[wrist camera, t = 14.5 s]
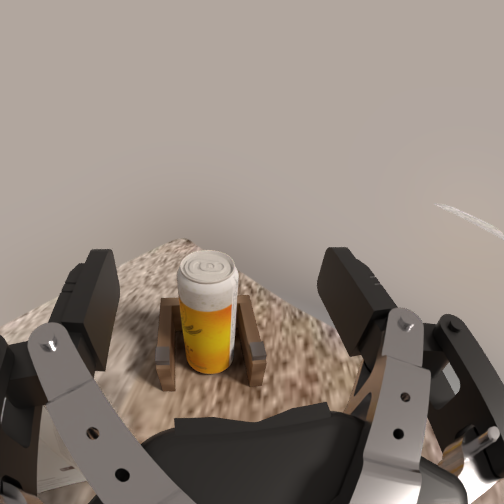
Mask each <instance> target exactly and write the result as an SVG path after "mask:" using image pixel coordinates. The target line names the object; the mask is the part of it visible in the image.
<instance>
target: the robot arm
mask: <svg viewBox="0 0 504 504" xmlns="http://www.w3.org/2000/svg"><path fill="white" fill-rule="evenodd" d="M317 289H318V293H319V296H320V297H321V299H322V301H323V303H324V305H325V307H326V309H327V311H328V313H329V315H330V317H331V319H332V321H333V323H334V325H335V328H336V330H337V332H338V334H339V336H340V338H341V340H342V342H343V344H344V346H345V348H346V350H347V352H348V354H349V356H350V357H352V356H357V355H362V357H363V360H362V361H361V363H360V366H359V369H358V373H357V376H356V380H355V383H354V386H353V389H352V392H351V395H350V399H349V401H348V404H347V406H346V408H345V409H344V411H343V413H342V412H335V411H330V410H329V407H328V404H327V402H323V403H318V404H313V405H308V406H303V407H297V408H292V409H290V410H287V411H285V412H282V413H280V414H277V415H275V416H272V417H270V418H267V419H265V420H262V421H259V422H245V421H237V420H229V419H223V418H216V417H205V418H174V422H175V428H171V429H168V430H165V431H162V432H159V433H157V434H155V435H153V436H152V437H150V438H149V439H147V440H146V441H144V442H143V443H142V444H141V445H140V444H139V442H138V441H137V440H136V439H135V437H134V436H133V435H132V433H131V432H130V431H129V430H128V428H127V427H126V426H125V424H124V423H123V421H122V420H121V419H120V417H119V416H118V415H117V413H116V412H115V410H114V409H113V407H112V406H111V405H110V403H109V402H108V400H107V399H106V397H105V396H104V394H103V393H102V391H101V389H100V388H99V386H98V385H97V383H96V382H95V380H94V373H95V371H105V370H106V363H107V358H108V352H109V346H110V341H111V336H112V331H113V326H114V321H115V316H116V312H117V307H118V303H119V298H120V285H119V280H118V275H117V270H116V266H115V260H114V255H113V252H112V250H111V249H94V250H91V251H90V253H89V255H88V257H87V260H86V262H85V263H81V264H80V263H79V264H78V265H77V266H76V267H75V268H74V269H73V270H72V271H71V272H70V273H69V275H68V278H67V280H66V282H65V284H64V286H63V289H62V293H60V295H59V297H58V300H57V302H56V304H55V307H54V309H53V312H52V314H51V317H50V319H49V322H48V323H45V324H43V325H41V326H39V327H37V328H36V329H35V330H34V331H33V332H32V333H31V335H30V337H29V340H28V341H26V342H21V343H16V344H11V345H8V344H7V342H6V341H5V339H4V338H3V337H2V336H1V335H0V504H43V503H42V501H41V500H40V499H39V498H38V497H37V460H38V444H39V433H40V423H41V415H42V408H43V405H46V407H47V410H48V412H49V415H50V417H51V419H52V421H53V423H54V425H55V427H56V429H57V431H58V433H59V435H60V437H61V438H62V440H63V442H64V444H65V446H66V447H67V449H68V451H69V453H70V454H71V456H72V458H73V459H74V461H75V463H76V464H77V466H78V467H79V469H80V471H81V472H82V474H83V475H84V477H85V478H86V480H87V481H88V483H89V484H90V486H91V487H92V488H93V490H94V491H95V493H96V495H95V497H94V498H93V499H92V500H91V501H90V502H89V503H88V504H469V503H470V502H472V501H473V500H474V499H476V498H477V497H478V496H480V495H481V494H482V493H483V492H485V491H486V490H487V489H488V488H490V487H491V486H492V485H494V484H496V483H498V482H499V481H501V480H503V479H504V385H503V383H502V381H501V380H500V378H499V376H498V374H497V373H496V371H495V369H494V368H493V366H492V364H491V363H490V361H489V360H488V358H487V356H486V355H485V354H484V352H483V350H482V348H481V347H480V345H479V344H478V342H477V341H476V339H475V338H474V336H473V335H472V333H471V332H470V331H469V329H468V328H467V326H466V325H465V323H464V322H463V321H462V320H460V319H459V318H457V317H456V316H454V315H451V314H445V315H443V316H442V317H441V318H440V320H439V321H438V323H437V324H428V323H422V320H421V319H420V318H419V316H417V315H416V314H415V313H414V312H412V311H410V310H408V309H405V308H398V307H397V306H396V304H395V303H394V302H393V300H392V299H391V297H390V296H389V295H388V293H387V292H386V290H385V289H384V288H383V286H382V285H381V284H380V282H379V281H378V279H377V278H376V277H375V276H374V274H373V273H372V271H371V270H370V269H369V267H367V266H366V265H365V264H364V263H362V262H361V261H359V260H358V259H356V258H355V257H354V255H353V254H352V253H351V251H350V250H349V249H348V248H346V247H329V248H328V249H327V250H326V252H325V255H324V259H323V262H322V266H321V270H320V273H319V276H318V280H317ZM449 362H450V364H451V366H452V368H453V369H454V371H455V373H456V375H457V376H458V378H459V380H460V390H459V392H458V393H457V394H456V395H455V394H454V392H453V390H452V388H451V386H450V384H449V383H448V380H447V379H446V377H445V375H444V373H443V371H442V370H443V369H444V368H445V366H446V365H447V364H448V363H449ZM5 398H6V400H5V405H4V410H3V416H2V422H1V414H2V409H3V404H4V399H5ZM427 417H428V420H429V422H430V424H431V426H432V429H433V431H434V434H435V436H436V438H437V441H438V443H439V446H440V448H441V451H442V453H443V456H442V460H441V461H440V462H439V463H438V465H436V464H434V463H432V462H431V461H429V460H427V459H425V458H424V457H422V456H421V452H422V447H423V441H424V435H425V429H426V422H427Z"/></svg>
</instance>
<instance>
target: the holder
mask: <svg viewBox="0 0 504 504" xmlns="http://www.w3.org/2000/svg"><path fill="white" fill-rule="evenodd" d="M235 328H238V331H239V336H240V341H241V347H242V352H243V357H244V362H245V367H246V372H247V376H248V381H249V386H250V387H253V386H262V382H263V377H264V373H265V368H266V351H265V348H264V344H263V341H262V342H261V339H260V336H259V332H258V328H257V324H256V320H255V316H254V312H253V308H252V304H251V300H250V296H249V295H237V307H236V323H235ZM175 331H183V329H182V321H181V313H180V304H179V298H161V303H160V315H159V328H158V342H157V347H156V353H155V362H156V370H157V373H158V377H159V380H160V383H161V386H162V389H163V391H175Z"/></svg>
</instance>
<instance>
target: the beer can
mask: <svg viewBox="0 0 504 504" xmlns="http://www.w3.org/2000/svg"><path fill="white" fill-rule="evenodd" d="M177 284H178V294H179V304H180V313H181V321H182V329H183V337H184V344H185V351H186V358H187V361H188V363H189V364H190V366H191V367H192V368H193V369H195V370H196V371H198V372H201V373H205V374H215V373H219V372H222V371H224V370H225V369H227V368H228V367H229V366H230V365H231V363H232V361H233V357H234V340H235V323H236V307H237V291H238V271H237V269H236V267H235V263H234V261H233V260H232V258H231V257H229V256H228V255H226V254H224V253H222V252H218V251H214V250H201V251H196V252H193V253H191V254H189V255H187V256H186V257H184V258H183V260H182V261H181V264H180V267H179V269H178V272H177Z"/></svg>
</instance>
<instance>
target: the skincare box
mask: <svg viewBox="0 0 504 504" xmlns="http://www.w3.org/2000/svg"><path fill="white" fill-rule="evenodd" d="M5 400H6V398H5V399H4V404H3V409H2V414H1V422H2V416H3V410H4V405H5ZM84 481H87V480H86V478H85V477H84V475H83V474H82V472H81V471H80V469H79V467H78V466H77V464H76V463H75V461H74V459H73V458H72V456H71V454H70V453H69V451H68V449H67V447H66V446H65V444H64V442H63V440H62V438H61V437H60V435H59V433H58V431H57V429H56V427H55V425H54V423H53V421H52V419H51V417H50V415H49V412H48V411H47V409H46V408H45V407H44V406H43V408H42V415H41V423H40V433H39V444H38V460H37V493H41V492H44V491H47V490H51V489H55V488H58V487H62V486H66V485H70V484H75V483H79V482H84Z"/></svg>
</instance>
